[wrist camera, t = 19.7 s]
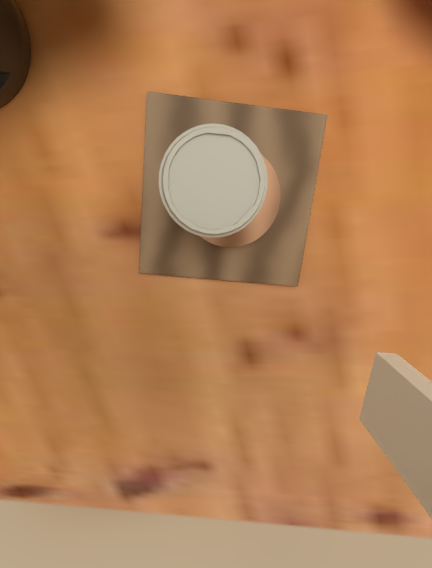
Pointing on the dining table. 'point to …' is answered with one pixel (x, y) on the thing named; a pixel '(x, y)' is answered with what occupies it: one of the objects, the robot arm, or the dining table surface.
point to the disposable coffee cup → (213, 180)
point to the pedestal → (276, 207)
